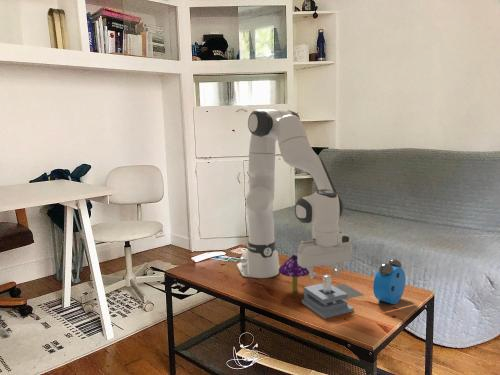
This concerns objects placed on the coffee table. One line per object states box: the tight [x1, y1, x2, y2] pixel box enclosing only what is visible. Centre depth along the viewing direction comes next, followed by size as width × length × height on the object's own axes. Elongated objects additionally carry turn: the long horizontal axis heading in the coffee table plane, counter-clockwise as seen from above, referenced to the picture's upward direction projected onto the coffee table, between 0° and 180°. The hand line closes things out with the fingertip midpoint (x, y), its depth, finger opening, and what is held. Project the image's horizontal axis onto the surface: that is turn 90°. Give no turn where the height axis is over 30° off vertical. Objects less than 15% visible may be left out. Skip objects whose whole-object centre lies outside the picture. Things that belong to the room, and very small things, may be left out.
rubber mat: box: [334, 283, 365, 301], centre depth 153 cm, size 12×12×1 cm
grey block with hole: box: [301, 282, 355, 320], centre depth 140 cm, size 14×12×6 cm
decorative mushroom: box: [279, 254, 310, 293], centre depth 154 cm, size 12×12×15 cm
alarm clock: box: [372, 258, 406, 305], centre depth 143 cm, size 13×6×15 cm, turn 135°
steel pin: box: [322, 274, 333, 295], centre depth 140 cm, size 3×3×10 cm
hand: (324, 276), depth 139 cm, fingers open, 8 cm apart
